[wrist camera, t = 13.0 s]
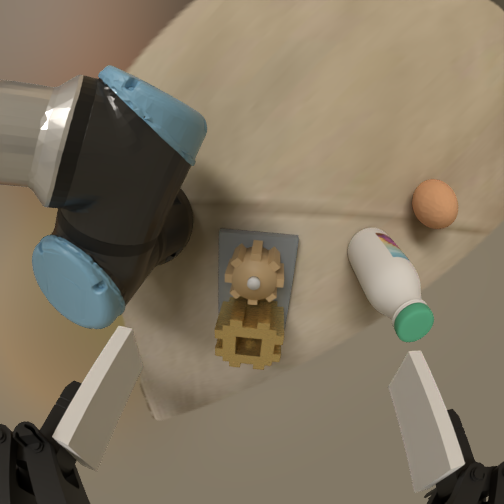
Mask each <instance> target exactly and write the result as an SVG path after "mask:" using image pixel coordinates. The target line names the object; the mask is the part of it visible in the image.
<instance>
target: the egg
mask: <svg viewBox="0 0 504 504" xmlns="http://www.w3.org/2000/svg"><path fill="white" fill-rule="evenodd" d="M412 206H413V210H414V213H415V215H416V217H417V218H418V220H419V221H420V222H421V223H422V224H424V225H425V226H427V227H430V228H433V229H441V228H445V227H448V226H449V225H451V224H452V223H453V222H454V220H455V219H456V217H457V213H458V201H457V198H456V195H455V193H454V191H453V190H452V189H451V188H450V187H449V186H448V185H447V184H446V183H444V182H442V181H440V180H435V179H431V180H426V181H424V182H422V183H421V184H420V185H419V186H418V187H417V188H416V190H415V192H414V194H413V198H412Z"/></svg>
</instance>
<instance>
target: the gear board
mask: <svg viewBox="0 0 504 504" xmlns="http://www.w3.org/2000/svg"><path fill="white" fill-rule="evenodd" d="M298 241H299V238H298V235H290V234H279V233H268V232H257V231H245V230H234V229H220V231H219V313H220V310H221V306H222V303H223V301H226V302H229V299H230V297H234V298H235V299H237V298H238V297H240V296H242V297H244V298H246V299H248V304H251V305H257V300H261V299H264V298H265V299H266V300H267V301H268V302H270V301H277V307H284V330H285V324H286V318H287V312H288V306H289V300H290V294H291V288H292V282H293V275H294V269H295V262H296V255H297V248H298Z"/></svg>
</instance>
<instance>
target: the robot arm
mask: <svg viewBox="0 0 504 504" xmlns="http://www.w3.org/2000/svg"><path fill="white" fill-rule="evenodd" d="M98 77H99V79H95V78H91V77H87V76H82V75H78V76H76V77H74V78H73V79H71V80H69V81H67V82H66V83H64V84H62V85H61V86H59V87H47V86H42V85H36V84H30V83H23V82H16V81H7V80H0V185H10V186H21V187H29V188H30V189H31V190H32V191H33V192H34V193H35V195H36V196H37V198H38V199H39V201H40V202H41V203H42V205H43V206H44V207H51V208H58V212H57V217H56V223H55V228H54V231H53V232H52V234H51V235H47V236H45V237H43V238H42V239H41V241H40V242H39V244H37V246H36V247H35V249H34V252H33V256H32V265H33V271H34V275H35V278H36V280H37V283H38V285H39V287H40V289H41V290H42V292H43V293H44V295H45V296H46V298H47V299H48V301H49V302H50V303H51V304H52V305H53V306H54V307H55V309H56V310H57V311H59V312H60V313H61V314H62V315H63V316H65V317H66V318H67V319H69V320H70V321H72V322H74V323H75V324H78V325H80V326H82V327H85V328H90V329H91V328H94V329H102V328H105V327H107V326H109V325H110V324H111V323H113V321H114V320H115V319H116V318H117V317H118V316H119V315H121V314H122V313H123V312H124V310H125V306H126V305H127V304H128V302H129V301H130V299H131V298H132V297H133V295H134V294H135V293H136V291H137V290H138V289H139V287H140V286H141V284H142V283H143V282H144V280H145V279H146V278H147V276H148V275H149V274H150V273H151V271H152V270H153V268H154V267H156V266H158V265H161V264H163V263H166V262H168V261H170V260H172V259H173V258H175V257H176V256H177V255H178V254H179V253H180V252H181V251H182V249H183V248H184V247H185V245H186V244H187V242H188V240H189V238H190V236H191V232H192V227H193V216H192V210H191V207H190V204H189V201H188V199H187V197H186V196H185V194H184V193H183V191H182V190H181V189H180V188H181V186H182V183H183V181H184V179H185V177H186V175H187V173H188V171H189V169H190V167H191V166H194V165H195V162H196V161H195V157H196V155H197V153H198V151H199V149H200V147H201V144H202V142H203V140H204V138H205V136H206V133H207V124H206V121H205V119H204V117H203V116H202V115H201V114H200V113H199V112H197V111H196V110H194V109H193V108H191V107H189V106H188V105H186V104H184V103H183V102H181V101H179V100H177V99H176V98H174V97H172V96H170V95H169V94H167V93H165V92H163V91H161V90H160V89H158V88H156V87H154V86H152V85H150V84H148V83H147V82H145V81H143V80H141V79H139V78H137V77H135V76H133V75H131V74H129V73H126V72H124V71H122V70H120V69H118V68H116V67H113V66H110V65H109V66H107V67H106V68H104V70H103V71H101V72H100V73H99V76H98ZM142 368H143V364H142V361H141V358H140V354H139V351H138V347H137V343H136V340H135V336H134V332H133V329H132V328H127V327H123V326H118V328H117V329H116V331H115V332H114V334H113V335H112V337H111V338H110V340H109V341H108V343H107V345H106V346H105V347H104V349H103V350H102V352H101V354H100V355H99V357H98V358H97V360H96V361H95V363H94V365H93V366H92V368H91V370H90V371H89V373H88V375H87V376H86V378H85V379H84V381H83V383H82V384H81V383H79V382H76V381H73V382H71V383H70V384H69V385H68V386H66V387H65V389H64V390H63V392H62V394H61V395H60V398H59V399H58V400H57V402H56V405H54V407H53V408H52V410H51V412H50V414H49V415H48V417H47V419H46V421H45V422H44V424H43V426H42V428H41V429H40V430H38V429H37V427H36V426H35V425H34V424H32V423H30V422H21V423H19V424H18V425H17V426H16V427H15V429H14V431H13V432H12V431H11V430H10V429H9V428H7V427H6V425H2V424H0V504H90V502H89V500H88V497H87V495H86V492H85V490H84V487H83V485H82V482H81V479H80V476H79V474H78V471H77V468H76V466H75V463H76V460H77V461H78V462H79V463H80V464H82V465H83V466H85V467H88V468H89V469H92V470H94V471H97V470H98V467H99V465H100V463H101V460H102V458H103V455H104V453H105V451H106V448H107V446H108V443H109V441H110V439H111V436H112V434H113V432H114V429H115V427H116V425H117V423H118V420H119V418H120V415H121V414H122V411H123V409H124V407H125V405H126V402H127V400H128V398H129V396H130V394H131V392H132V389H133V387H134V385H135V383H136V381H137V379H138V377H139V375H140V373H141V370H142ZM388 387H389V391H390V394H391V397H392V401H393V404H394V408H395V411H396V415H397V419H398V422H399V426H400V430H401V434H402V437H403V442H404V446H405V450H406V455H407V459H408V463H409V468H410V473H411V477H412V483H413V488H414V493H417V492H420V491H423V490H426V489H429V488H430V487H432V486H433V485H435V484H436V488H435V489H433V490H432V491H430V492H428V493H427V494H426V495H425V496H424V498H426V497H428V496H430V495H431V497H429V498H428V499H429V501H428V502H427V504H504V462H502V463H501V464H500V465H498V466H492V467H484V465H483V464H481V463H478V462H476V461H475V460H474V457H473V454H472V452H471V448H470V445H469V443H468V439H467V437H466V435H465V431H464V428H463V427H462V423H461V421H460V418H459V416H458V415H457V414H456V412H455V411H454V410H453V409H450V410H446V407H445V404H444V402H443V400H442V397H441V395H440V392H439V390H438V387H437V385H436V383H435V381H434V378H433V376H432V374H431V372H430V369H429V367H428V365H427V363H426V361H425V359H424V357H423V354H422V353H421V351H409V352H408V353H407V355H406V357H405V359H404V361H403V362H402V364H401V366H400V368H399V369H398V371H397V373H396V374H395V376H394V378H393V379H392V381H391V383H390V384H389V386H388ZM487 496H489V498H488V501H487V502H486V497H487Z"/></svg>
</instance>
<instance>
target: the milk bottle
mask: <svg viewBox="0 0 504 504" xmlns="http://www.w3.org/2000/svg"><path fill="white" fill-rule="evenodd" d="M348 258H349V261H350V263H351V266H352V268H353V270H354V272H355V274H356V276H357V278H358V281H359V283H360V285H361V287H362V289H363V291H364V293H365V295H366V297H367V299H368V301H369V302H370V303H371V305H372V306H373V307H374V308H375V309H376V310H377V311H378V312H380V313H381V314H383V315H385V316H387V317H389V318H390V319H392V325H393V327H394V329H395V331H396V334H397V335H398V337H399V338H400V339H401V340H402V341H404V342H413V341H417V340H419V339H421V338H422V337H423V336H424V335H426V334H427V333H428V332H429V330H430V329H431V327H432V325H433V322H434V317H433V313H432V311H431V310H430V308H429V307H428V306H427V304H426V302H424V301H423V300H422V299H421V285H420V279H419V276H418V273H417V271H416V269H415V268H414V266H413V265H412V263H411V262H410V261H409V259H408V258H407V257H406V256H405V254H404V253H403V252H402V251H401V250H400V248H399V247H398V246H397V245H396V244H395V243H394V241H393V240H392V239H391V238H390V237H389V236H388V235H387V234H386V233H385V232H384V231H383V230H381V229H378V228H366V229H363V230H361V231H359V232H358V233H357V234H355V236H354V237H353V238H352V239H351V241H350V243H349V246H348Z"/></svg>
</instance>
